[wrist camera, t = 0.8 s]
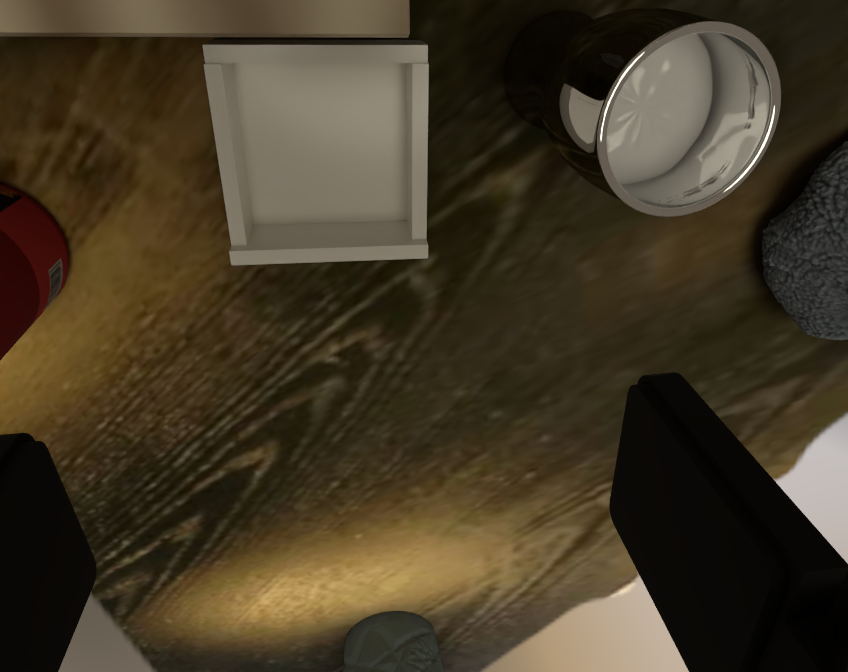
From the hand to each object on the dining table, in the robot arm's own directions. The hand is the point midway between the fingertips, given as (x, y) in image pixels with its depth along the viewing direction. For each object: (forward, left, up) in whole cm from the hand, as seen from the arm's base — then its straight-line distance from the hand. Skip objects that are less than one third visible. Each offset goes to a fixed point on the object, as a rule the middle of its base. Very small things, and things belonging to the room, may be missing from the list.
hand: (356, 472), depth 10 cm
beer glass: (-3, +12, -28) cm, 31 cm away
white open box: (+1, -1, -28) cm, 28 cm away
